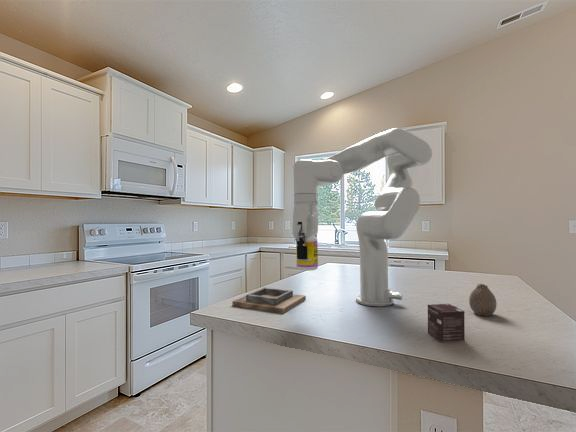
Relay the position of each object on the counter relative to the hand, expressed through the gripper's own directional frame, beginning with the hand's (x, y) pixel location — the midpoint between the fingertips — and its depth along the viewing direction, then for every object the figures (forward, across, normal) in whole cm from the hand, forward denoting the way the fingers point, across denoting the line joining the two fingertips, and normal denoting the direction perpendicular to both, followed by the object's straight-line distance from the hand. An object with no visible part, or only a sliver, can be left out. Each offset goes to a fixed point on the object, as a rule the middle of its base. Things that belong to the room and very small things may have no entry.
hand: (307, 257), depth 93 cm
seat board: (+18, -6, -17) cm, 25 cm away
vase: (+18, -21, +48) cm, 55 cm away
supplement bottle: (+4, 0, 0) cm, 4 cm away
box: (+18, +3, +38) cm, 42 cm away
